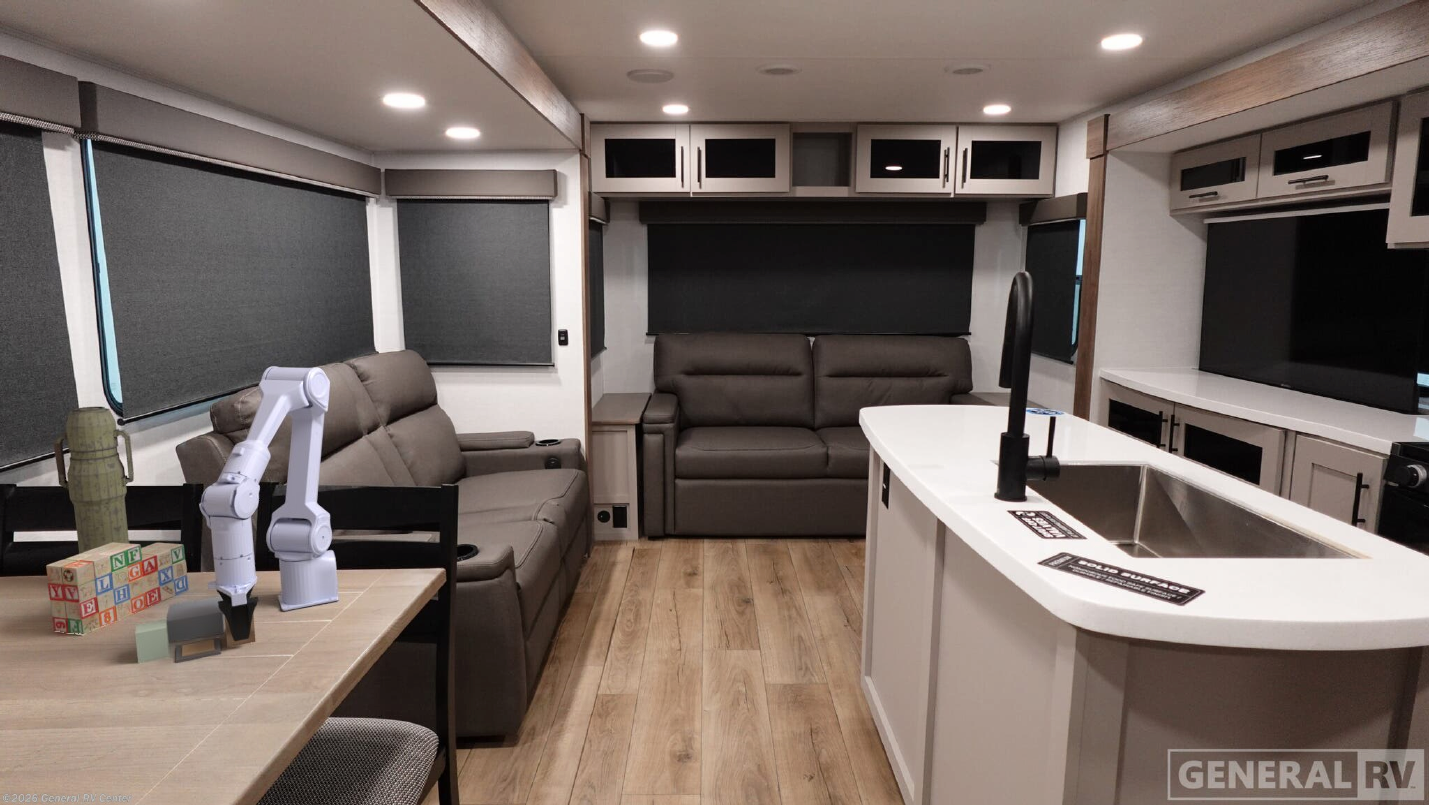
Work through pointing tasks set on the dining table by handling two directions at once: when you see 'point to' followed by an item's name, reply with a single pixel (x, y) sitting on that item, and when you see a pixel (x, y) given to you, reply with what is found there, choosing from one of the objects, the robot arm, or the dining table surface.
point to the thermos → (95, 476)
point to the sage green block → (152, 640)
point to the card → (198, 649)
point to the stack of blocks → (113, 583)
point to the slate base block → (195, 619)
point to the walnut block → (234, 643)
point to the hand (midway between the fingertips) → (240, 632)
